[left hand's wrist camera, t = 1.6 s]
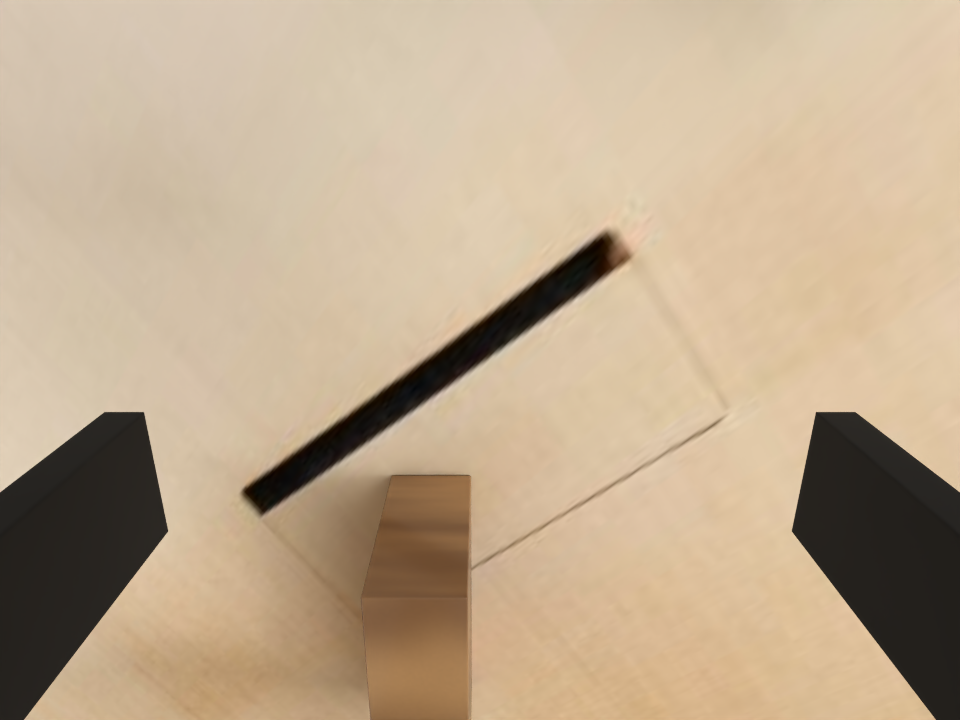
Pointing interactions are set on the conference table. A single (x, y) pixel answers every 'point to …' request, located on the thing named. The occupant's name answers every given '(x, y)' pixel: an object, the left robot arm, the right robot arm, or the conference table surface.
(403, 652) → the box
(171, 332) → the conference table surface
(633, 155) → the conference table surface
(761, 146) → the conference table surface
